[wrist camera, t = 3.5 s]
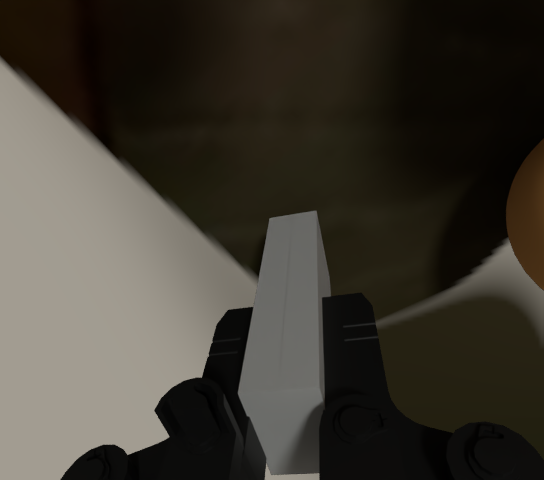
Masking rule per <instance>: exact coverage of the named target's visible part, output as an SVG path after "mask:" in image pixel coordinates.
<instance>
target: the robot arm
mask: <svg viewBox="0 0 544 480" xmlns="http://www.w3.org/2000/svg"><path fill="white" fill-rule="evenodd" d="M155 412H156V414H157V416H158V418H159V419H160V421H161V423H162V424H163V426H164V428H165V429H166V431H167V433H168V434H169V436H170V437H169V438H168V439H166V440H164V441H162V442H160V443H158V444H155V445H153V446H150V447H148V448H145V449H142V450H140V451H137V452H134V453H132V454H129V455H127V454H126V453H125V451H124V450H123V449H122V448H120V447H118V446H116V445H102V446H99V447H97V448H94V449H91V450H89V451H88V452H86V453H85V454H84V455H82V456H81V457H79V458H78V459H77V460H76V461H75V462H74V463H73V465H72V466H71V467H70V468H69V469H68V470H67V471H66V472H65V474H64V475H63V477H62V478H61V480H264V479H265V469H266V463H267V465H268V467H269V470H270V473H271V475H280V474H281V475H282V474H307V473H319V474H320V480H544V460H543V459H542V457H541V456H540V454H539V453H538V452H537V451H536V449H535V448H534V447H533V446H532V445H531V444H530V443H528V442H527V441H526V440H525V439H524V438H523V437H522V436H521V435H520V434H518V433H516V432H514V431H512V430H510V429H509V428H507V427H505V426H503V425H497V424H493V423H489V422H476V423H468V424H466V425H464V426H463V427H461V428H459V429H457V430H455V432H454V433H451V432H446V431H442V430H438V429H434V428H430V427H427V426H424V425H421V424H418V423H415V422H414V421H412V420H411V419H409V418H407V417H406V416H404V415H403V414H402V413H401V412H400V411H399V410H398V409H397V408H396V406H395V405H394V403H393V402H392V400H391V398H390V395H389V392H388V387H387V382H386V377H385V371H384V367H383V361H382V355H381V350H380V344H379V339H378V334H377V328H376V323H375V318H374V312H373V307H372V305H371V304H370V302H369V301H368V300H367V299H366V298H365V297H364V295H363V294H362V293H355V294H346V295H338V296H331V293H330V278H329V273H328V268H327V263H326V258H325V252H324V247H323V242H322V237H321V232H320V227H319V221H318V216H317V211H311V212H305V213H299V214H293V215H287V216H280V217H274V218H270V220H269V225H268V231H267V236H266V242H265V247H264V253H263V258H262V264H261V269H260V275H259V280H258V285H257V291H256V297H255V302H254V307H248V308H240V309H232V310H228V311H227V312H226V313H225V315H224V316H223V317H222V318H221V320H220V321H219V322H218V324H217V326H216V329H215V333H214V337H213V343H212V344H211V347H210V351H209V357H208V358H207V361H206V365H205V369H204V372H203V376H202V378H193V379H189V380H186V381H183V382H181V383H180V384H178V385H176V386H174V387H173V388H171V389H170V390H169V391H168V392H167V393H166V394H165V395H164V396H163V397H162V398H161V400H160V401H159V403H158V405H157V407H156V408H155Z"/></svg>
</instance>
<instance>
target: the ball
mask: <svg viewBox="0 0 544 480" xmlns="http://www.w3.org/2000/svg"><path fill="white" fill-rule="evenodd" d="M506 225H507V232H508V237H509V240H510V243H511V246H512V249H513V251H514V254H515V256H516V257H517V259H518V261H519V262H520V264H521V265H522V267H523V269H524V270H525V272H526V273H527V274H528V275H529V276H530V277H531V279H532V280H533V281H534V282H535V283H536V284H537V285H538V286H539V287H540V288H541V289H542V290H544V139H542V140H541V141H540V142H539V143H538V145H537V146H536V147H535V148H534V149H533V150H532V151H531V152H530V153H529V155H528V156H527V157H526V159H525V160H524V161H523V163H522V165H521V166H520V168H519V170H518V171H517V173H516V175H515V178H514V180H513V182H512V185H511V188H510V192H509V195H508V200H507V206H506Z"/></svg>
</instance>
